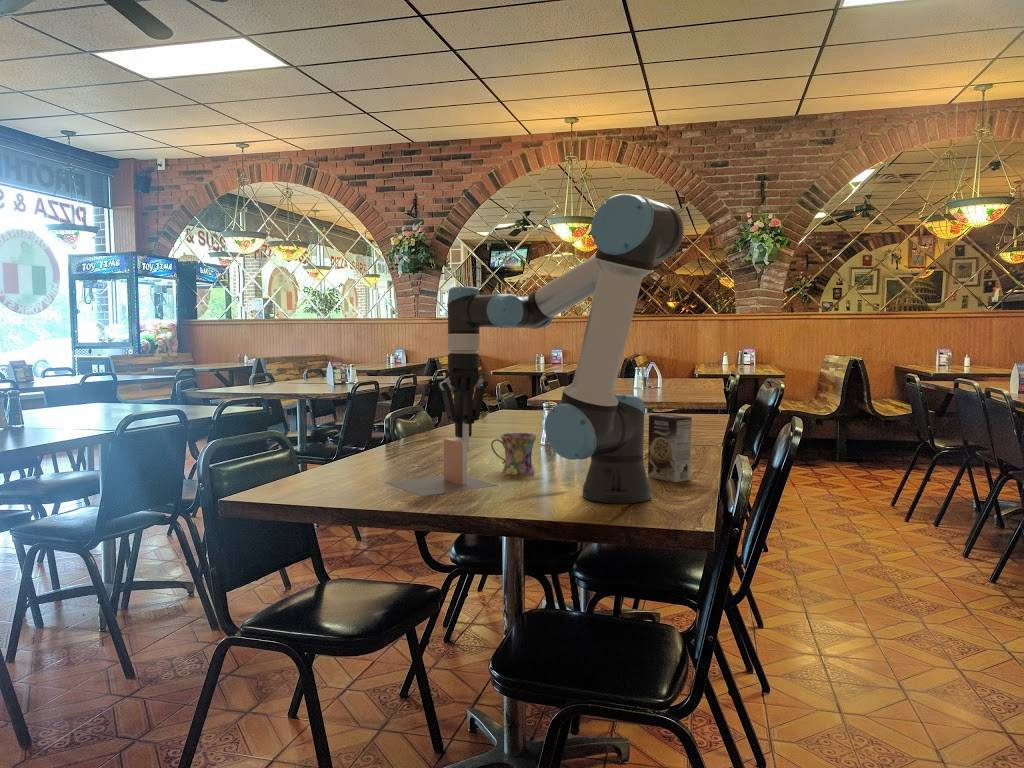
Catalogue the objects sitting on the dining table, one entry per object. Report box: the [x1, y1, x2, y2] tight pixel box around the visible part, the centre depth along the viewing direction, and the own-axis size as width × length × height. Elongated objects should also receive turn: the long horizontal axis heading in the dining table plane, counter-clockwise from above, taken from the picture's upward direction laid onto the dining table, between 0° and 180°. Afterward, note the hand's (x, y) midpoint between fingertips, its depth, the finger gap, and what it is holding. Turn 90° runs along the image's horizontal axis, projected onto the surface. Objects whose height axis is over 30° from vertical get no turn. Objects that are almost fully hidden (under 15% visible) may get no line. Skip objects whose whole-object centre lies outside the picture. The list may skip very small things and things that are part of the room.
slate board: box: [386, 474, 498, 497], centre depth 172 cm, size 18×20×1 cm
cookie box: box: [647, 413, 693, 483], centre depth 186 cm, size 9×6×16 cm
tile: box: [443, 437, 468, 485], centre depth 174 cm, size 8×2×10 cm, turn 36°
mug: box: [490, 432, 537, 476], centre depth 189 cm, size 12×9×11 cm
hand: (463, 450), depth 176 cm, fingers closed
